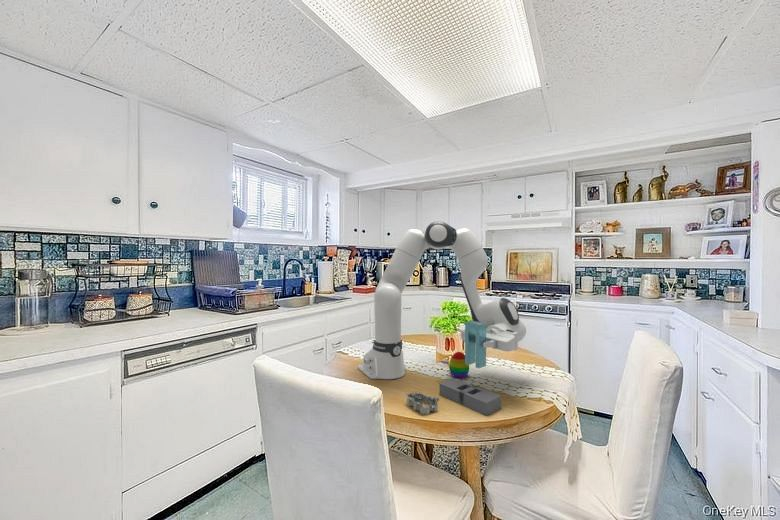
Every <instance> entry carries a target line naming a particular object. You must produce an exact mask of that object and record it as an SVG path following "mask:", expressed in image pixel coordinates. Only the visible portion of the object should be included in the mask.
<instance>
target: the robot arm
mask: <svg viewBox="0 0 780 520" xmlns="http://www.w3.org/2000/svg"><path fill="white" fill-rule="evenodd" d="M446 248H448V249H450V250H452V252H453V253H454V255H455V257H456V259H457V261H458V262H459V266H460V274H459V279H460V284H461V287H462V290H463V293H464V296H465V299H466V301H467V304H468V308H469V310H470V316H471V319H472V320H471V321H477V322H482V323H486V342H485V341H484V342H481V347H483V348H486V349H487V348H492V349H494V350H499V351H503V352H513V351H517V350H518V347H519V346H518V345H519V342H521V341H523V339H524V338H525V337H526V335H527V328H526V325H525V323H524V322H522V321H521V320H520V316H519V311H518V309H517V307H516V304H514V303H513V301H511V300H510V299H508V298H505V297H501V298H499V299H494V300H492V301H490V302H488V303H482V300H481V297H480V294H479V291H478V288H477V281H478V280H479V278H480V276H481V275H482V274H483V273H484V272H485V271H486V268H487V266H488V262H489V259H488V255H487V253H486V251H485V249H484V247H483V245H482V244H481V242H480V241H479V239H478V238H477V236H476V235H475V233H473V231H472V230H471V229H470V228H464V227H463V228H459V229H457V230H456V228H454V227H453V226H451V225H449V224H448V223H447V222H444V221H441V220H438V221H436V220H435V221H433V222H430V223H429V224H428V226H427V227H426V229H425V230H420V229H416V228H410V229H409V230H407V231H406V232H405V233H404V235H403V236H402V237H401V239H400V241H399V243H398V244H397V246H396V248H395V250H394V252H393V254H392V256H391V258H390V260H389V263H388V264H387V266H386V267H385V268H386V269H385V270H384V272H383V274H382V275H381V278H380V280H379V282H378V283H377V286H376V288H375V290H374V296H373V297H374V339H372V341H371V344H372V348H370V350H369V351H367V352H366V353H365V354H363V360H362V361H363V363H361V364H358V366H357V369H358V370H360V372H361V373H363V374H364V375H366V376H367V377H368V378H369V379H371V380H377V379H379V380H394V379H400V378H402V377H403V376H405V375H406V369H407V366H406V365H405V359H404V351H403V350H402V349H403V339H402V293H403V291H404V290H405V288H406V286H407V285H408V282H410V279H411V278H412V276H413V274H414V272H415V270H416V268H417V267H418V264H419V262H420V260H421V258H422V256H423V254H424V253H425V251H426V250H427V249H428V250H434V251H442V250H444V249H446ZM460 338H461V340H462V341H463V343H465V329H462V330H461V332H460ZM475 344H476V338H475Z"/></svg>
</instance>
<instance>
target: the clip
mask: <svg viewBox="0 0 780 520" xmlns="http://www.w3.org/2000/svg"><path fill="white" fill-rule="evenodd" d="M464 330H465V342H464V355H465V364H467V365H469V366H470V365H471V364H475V368H476V369H481V368H485V367H486V366H487V348H483V347H481V342H484V341H485V342H486V323H482V322H477V321H473V320H469V321H465V322H464ZM475 338H476V343H475Z"/></svg>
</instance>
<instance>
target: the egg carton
mask: <svg viewBox="0 0 780 520" xmlns="http://www.w3.org/2000/svg"><path fill="white" fill-rule="evenodd" d="M405 395H406V397H407V399H406V400H407V402H406V405H407V406H409V407H413V410H415V411H416V410H417V411H419V414H421V415H430V414H429V413H431V412H435V411H436V412H438V404H439V403H438V402H440V398H439V397H437V396H432V395H428V394H426V393H425V394H424V393H422V392H421V391H418V392H417V391H415V392H412V393H411V392H409V393H405ZM423 403H424V404H429V406H427V405H423Z"/></svg>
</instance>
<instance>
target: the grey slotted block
mask: <svg viewBox="0 0 780 520" xmlns="http://www.w3.org/2000/svg"><path fill="white" fill-rule="evenodd" d="M438 387H439V396H442V397H444V398H447V399H449V400H451V401H453V402H456V403H458V404H459V405H462V406H464V407H467V408H469V409H471V410H473V411H476V412H477V411H478V412H477V413H479V412H480V414H482V415H484V414H485V415H484V416H486V415H487V416H488V414H489V415H490V413H491V414H493V413H494V412H496V411H498V410H500V409H502V396H501V395H499V394H497V393H494V392H492V391H489V390H486V389H484V388H481V387H479V386H477V385H473V384H471V383H468V382H465V381H463V380H461V379H459V378H456V377H453V378H450V379H448V380H445V381H442V382H439V385H438Z"/></svg>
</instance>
